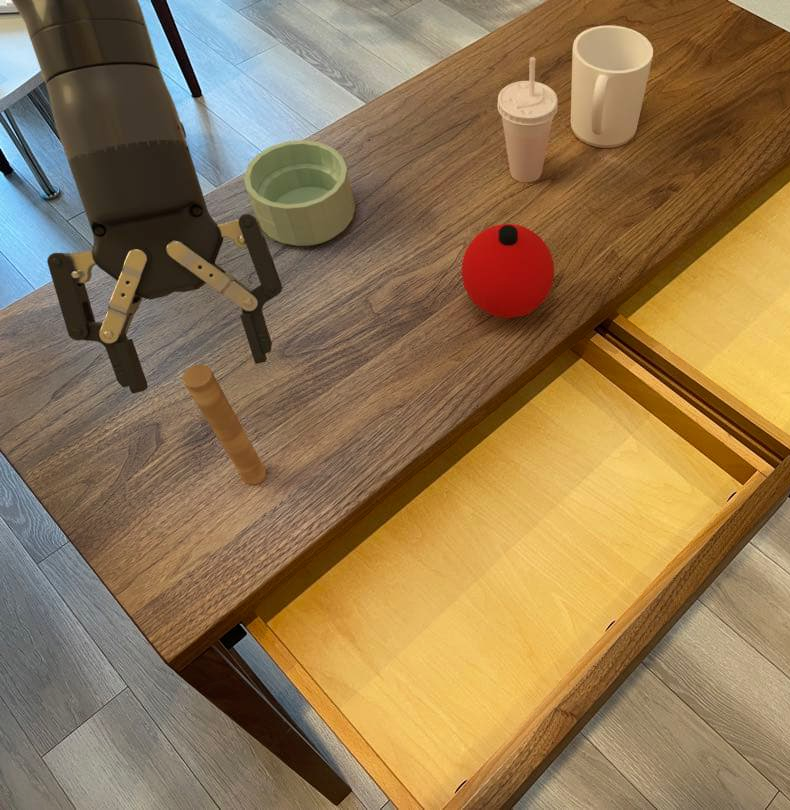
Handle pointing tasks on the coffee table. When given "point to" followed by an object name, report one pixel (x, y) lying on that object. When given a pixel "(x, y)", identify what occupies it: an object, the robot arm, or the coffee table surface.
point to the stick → (224, 422)
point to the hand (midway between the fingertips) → (202, 376)
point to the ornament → (507, 270)
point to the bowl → (300, 192)
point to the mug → (608, 84)
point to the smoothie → (527, 124)
